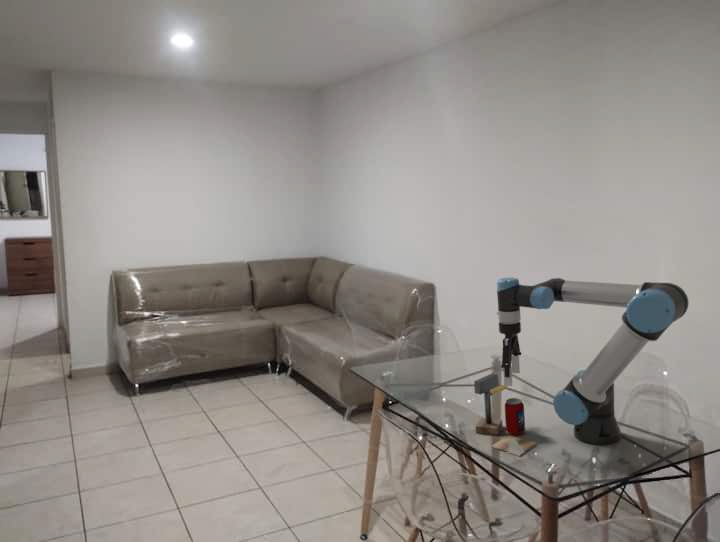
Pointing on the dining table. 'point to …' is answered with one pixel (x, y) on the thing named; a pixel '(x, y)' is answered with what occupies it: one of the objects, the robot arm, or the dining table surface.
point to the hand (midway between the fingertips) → (512, 379)
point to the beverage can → (514, 416)
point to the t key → (488, 391)
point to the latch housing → (489, 426)
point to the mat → (503, 443)
